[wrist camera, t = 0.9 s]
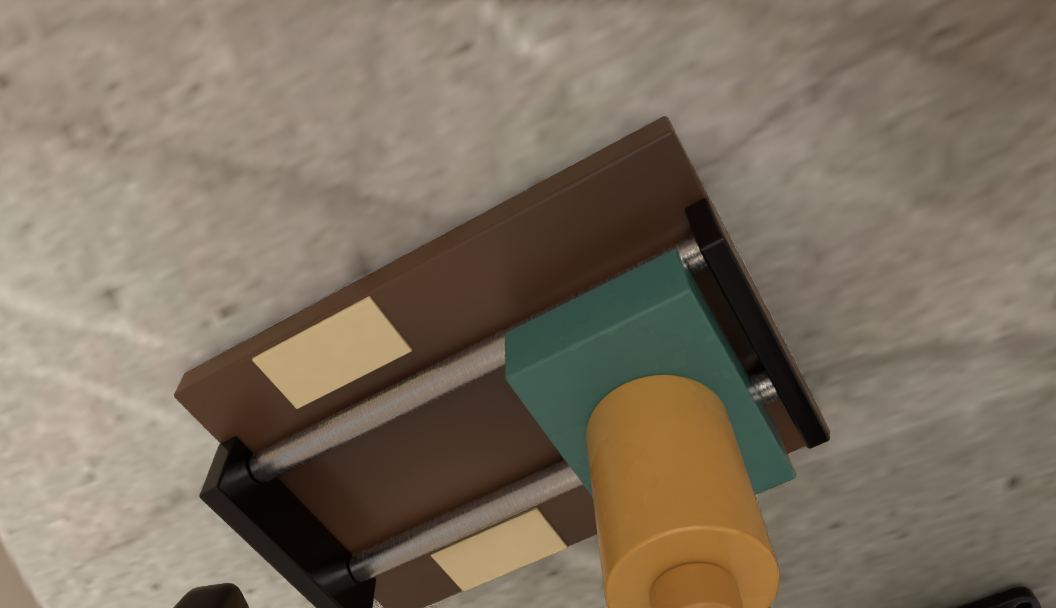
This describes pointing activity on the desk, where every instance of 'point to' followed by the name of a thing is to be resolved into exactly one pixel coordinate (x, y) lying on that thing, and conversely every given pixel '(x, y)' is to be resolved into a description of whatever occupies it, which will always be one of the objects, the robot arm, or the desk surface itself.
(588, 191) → the rail
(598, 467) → the teal slider with knob
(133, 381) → the desk surface
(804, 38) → the desk surface
